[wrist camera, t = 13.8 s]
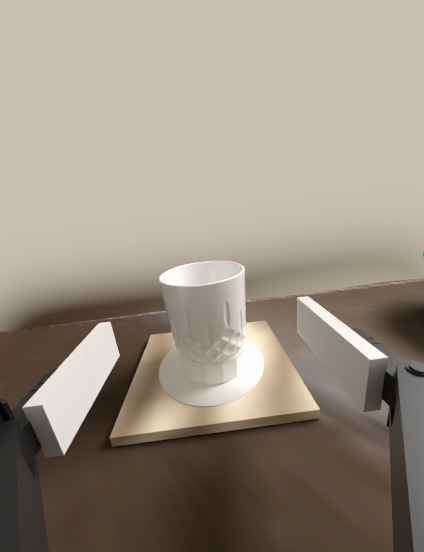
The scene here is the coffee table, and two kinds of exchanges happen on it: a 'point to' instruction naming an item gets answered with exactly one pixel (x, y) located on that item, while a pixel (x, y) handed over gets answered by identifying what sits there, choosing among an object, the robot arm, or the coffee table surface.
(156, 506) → the coffee table surface
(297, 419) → the coaster board
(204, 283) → the white cup
